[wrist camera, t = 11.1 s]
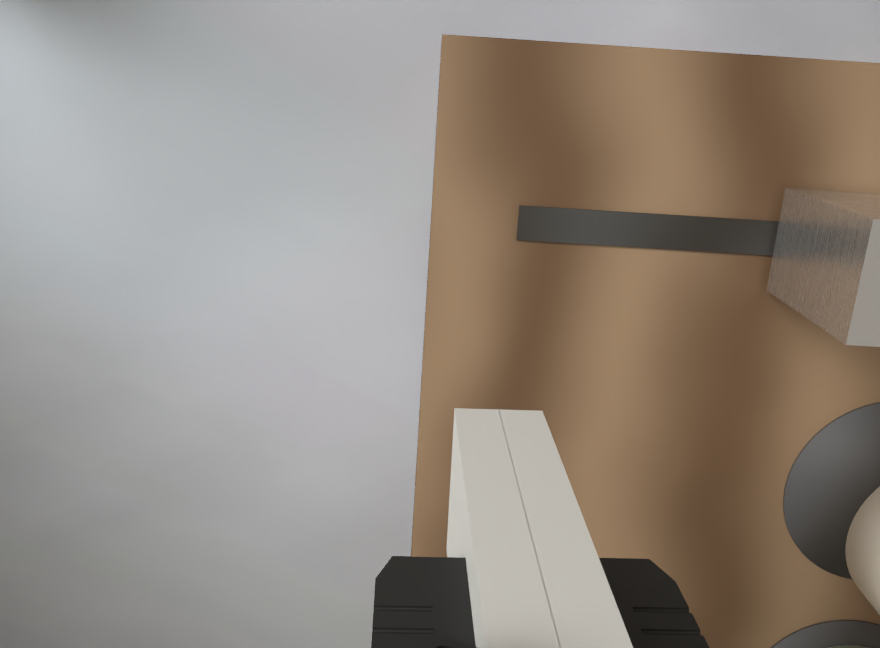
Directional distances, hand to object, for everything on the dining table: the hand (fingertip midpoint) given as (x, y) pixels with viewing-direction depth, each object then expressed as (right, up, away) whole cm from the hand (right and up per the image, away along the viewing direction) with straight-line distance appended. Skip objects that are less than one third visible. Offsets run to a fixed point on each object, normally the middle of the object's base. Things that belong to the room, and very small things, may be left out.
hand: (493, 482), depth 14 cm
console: (+8, -1, +16) cm, 18 cm away
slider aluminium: (+10, +5, +10) cm, 15 cm away
